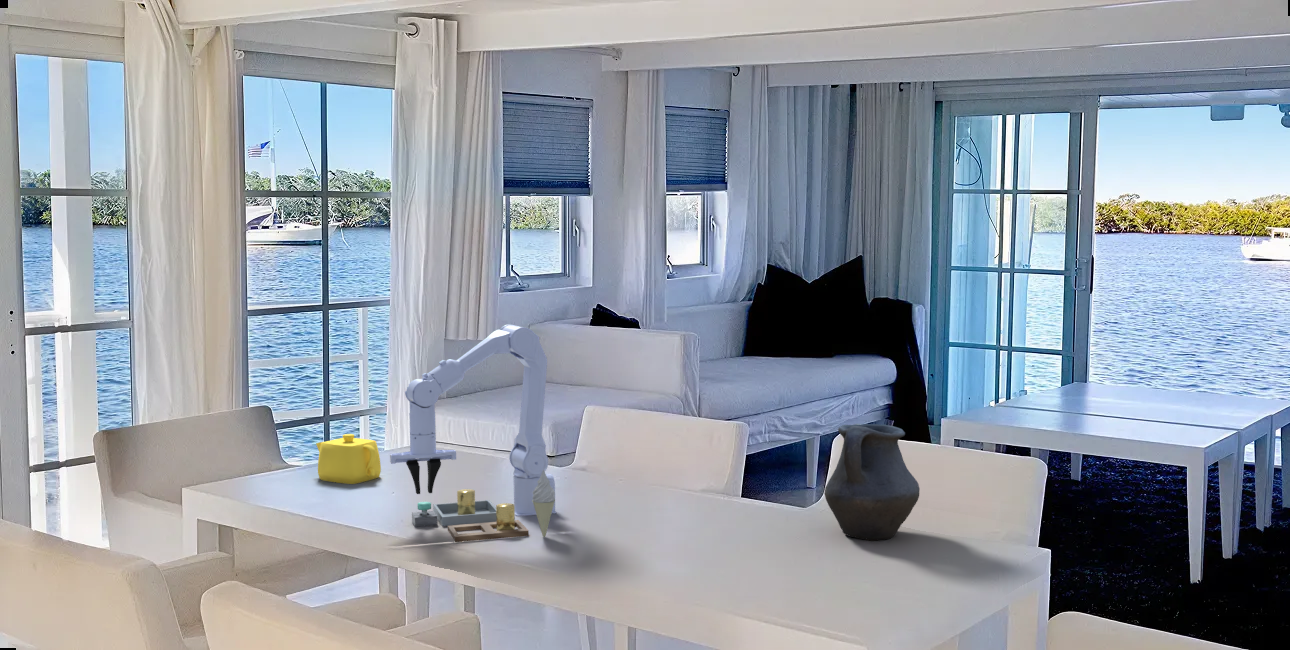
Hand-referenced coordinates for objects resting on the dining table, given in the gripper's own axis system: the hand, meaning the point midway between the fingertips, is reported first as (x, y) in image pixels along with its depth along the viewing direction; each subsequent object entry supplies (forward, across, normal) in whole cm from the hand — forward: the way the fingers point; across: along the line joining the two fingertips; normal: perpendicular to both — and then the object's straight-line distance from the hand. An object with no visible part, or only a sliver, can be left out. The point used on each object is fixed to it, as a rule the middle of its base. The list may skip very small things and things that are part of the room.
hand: (424, 492), depth 291 cm
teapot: (+8, +12, -58) cm, 60 cm away
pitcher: (+8, -90, +41) cm, 99 cm away
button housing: (+7, 0, 0) cm, 7 cm away
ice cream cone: (+8, -23, +19) cm, 31 cm away
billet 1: (+7, -10, -3) cm, 13 cm away
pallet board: (+7, -12, +12) cm, 19 cm away
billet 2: (+7, -16, +12) cm, 21 cm away
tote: (+7, -10, -3) cm, 13 cm away
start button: (+6, 0, 0) cm, 6 cm away
